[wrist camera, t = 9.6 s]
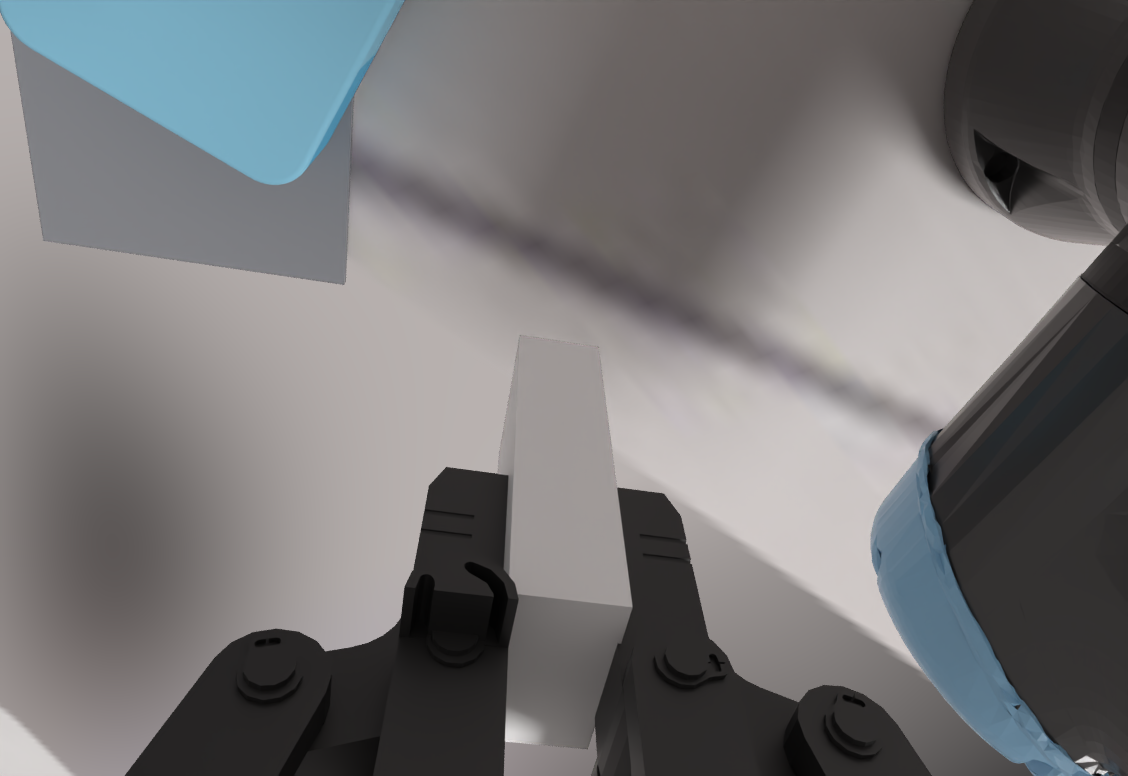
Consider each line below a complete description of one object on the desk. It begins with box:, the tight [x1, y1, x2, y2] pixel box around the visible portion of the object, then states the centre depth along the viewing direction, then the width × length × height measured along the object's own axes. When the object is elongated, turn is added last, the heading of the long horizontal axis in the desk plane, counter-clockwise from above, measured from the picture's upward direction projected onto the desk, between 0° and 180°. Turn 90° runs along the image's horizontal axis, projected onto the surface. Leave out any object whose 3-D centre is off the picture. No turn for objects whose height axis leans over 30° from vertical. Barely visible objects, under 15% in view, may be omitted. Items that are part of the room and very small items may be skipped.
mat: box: [11, 32, 354, 285], centre depth 35 cm, size 14×20×1 cm
